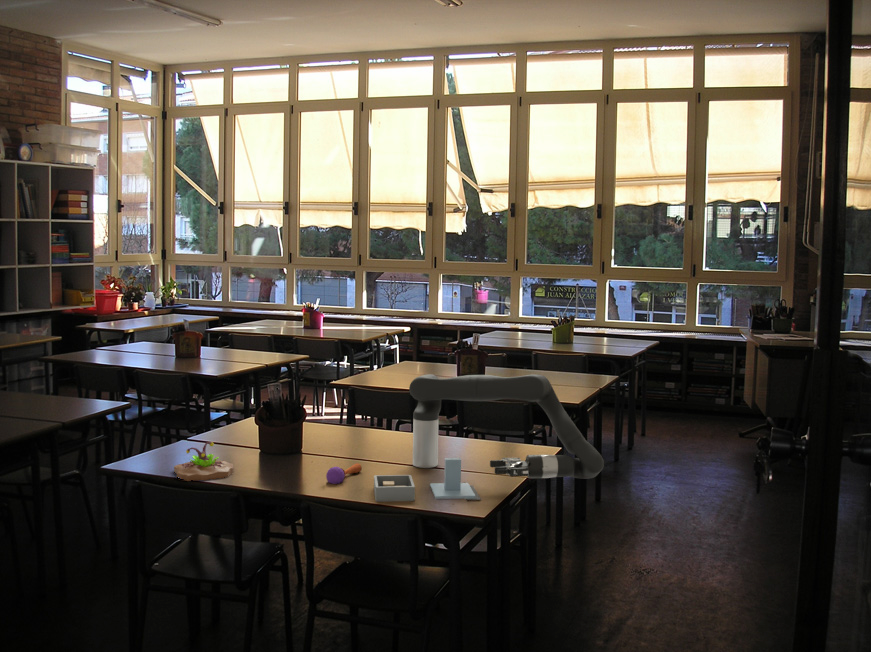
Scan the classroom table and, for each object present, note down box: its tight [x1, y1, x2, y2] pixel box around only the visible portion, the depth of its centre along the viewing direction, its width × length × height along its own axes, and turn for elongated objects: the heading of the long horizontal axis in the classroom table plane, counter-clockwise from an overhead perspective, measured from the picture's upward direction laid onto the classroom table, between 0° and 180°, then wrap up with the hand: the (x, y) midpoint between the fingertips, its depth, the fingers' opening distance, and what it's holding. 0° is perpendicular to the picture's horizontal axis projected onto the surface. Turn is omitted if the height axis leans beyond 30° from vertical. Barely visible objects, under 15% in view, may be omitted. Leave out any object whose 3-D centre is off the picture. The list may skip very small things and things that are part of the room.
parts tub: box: [373, 474, 416, 503], centre depth 253 cm, size 14×12×5 cm
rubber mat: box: [465, 484, 482, 501], centre depth 258 cm, size 16×14×1 cm
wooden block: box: [383, 481, 394, 487], centre depth 256 cm, size 4×4×3 cm
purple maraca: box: [325, 463, 363, 485], centre depth 273 cm, size 6×6×20 cm
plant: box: [173, 441, 235, 482], centre depth 277 cm, size 20×20×11 cm
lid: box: [429, 457, 475, 500], centre depth 257 cm, size 15×13×11 cm
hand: (492, 467), depth 258 cm, fingers open, 8 cm apart
